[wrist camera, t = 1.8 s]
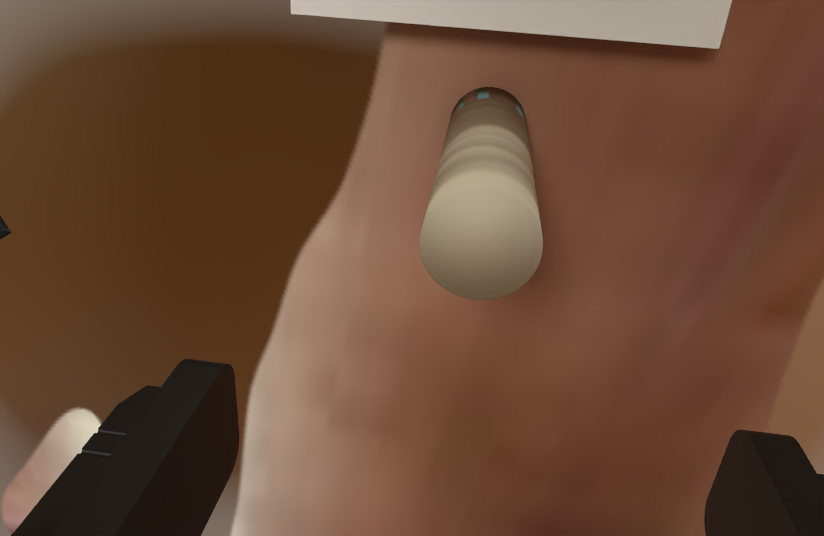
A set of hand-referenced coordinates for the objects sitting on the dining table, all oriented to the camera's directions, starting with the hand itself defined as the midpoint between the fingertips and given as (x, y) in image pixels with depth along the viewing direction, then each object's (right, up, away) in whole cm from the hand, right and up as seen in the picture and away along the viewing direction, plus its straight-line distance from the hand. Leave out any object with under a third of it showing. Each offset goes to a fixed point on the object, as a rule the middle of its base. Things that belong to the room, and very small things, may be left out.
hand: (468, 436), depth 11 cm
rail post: (+2, +9, +17) cm, 19 cm away
